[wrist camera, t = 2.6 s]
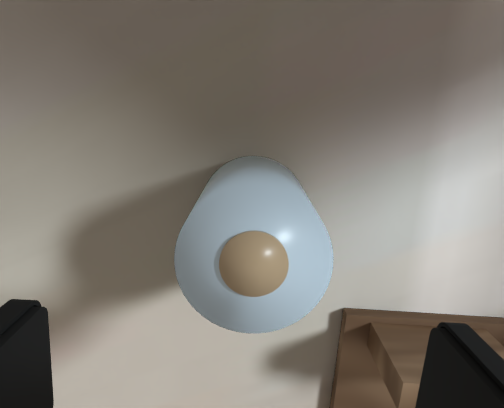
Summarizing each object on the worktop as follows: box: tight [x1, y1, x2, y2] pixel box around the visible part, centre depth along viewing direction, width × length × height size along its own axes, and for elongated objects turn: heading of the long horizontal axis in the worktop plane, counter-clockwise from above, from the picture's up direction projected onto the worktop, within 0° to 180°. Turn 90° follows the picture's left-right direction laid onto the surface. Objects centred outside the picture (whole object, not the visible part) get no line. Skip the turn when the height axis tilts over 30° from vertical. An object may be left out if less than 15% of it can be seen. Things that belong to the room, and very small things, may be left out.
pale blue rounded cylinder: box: [174, 156, 333, 333], centre depth 18 cm, size 6×6×8 cm
